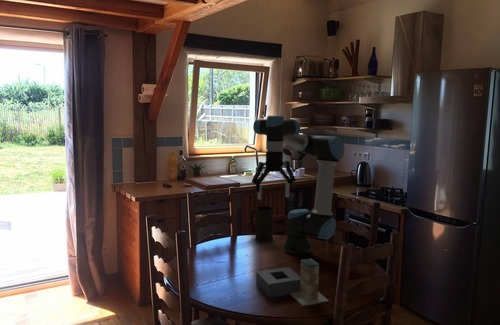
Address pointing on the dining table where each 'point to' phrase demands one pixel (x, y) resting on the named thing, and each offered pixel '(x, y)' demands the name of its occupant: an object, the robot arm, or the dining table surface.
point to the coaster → (308, 302)
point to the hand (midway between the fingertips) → (273, 198)
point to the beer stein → (262, 223)
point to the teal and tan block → (309, 279)
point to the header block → (278, 282)
